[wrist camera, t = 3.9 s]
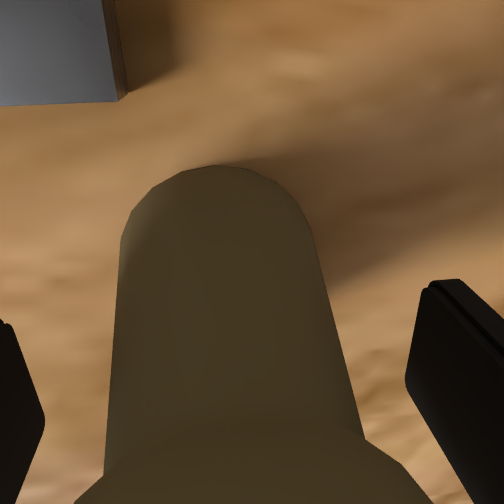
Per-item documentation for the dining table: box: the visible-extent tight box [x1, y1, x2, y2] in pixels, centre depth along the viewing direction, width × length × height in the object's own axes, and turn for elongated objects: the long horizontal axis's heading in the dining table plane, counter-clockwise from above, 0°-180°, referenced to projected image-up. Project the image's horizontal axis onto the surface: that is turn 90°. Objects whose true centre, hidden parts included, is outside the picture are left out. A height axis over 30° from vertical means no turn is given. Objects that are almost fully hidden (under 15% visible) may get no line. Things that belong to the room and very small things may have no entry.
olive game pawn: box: [74, 165, 434, 504], centre depth 8 cm, size 6×6×11 cm
